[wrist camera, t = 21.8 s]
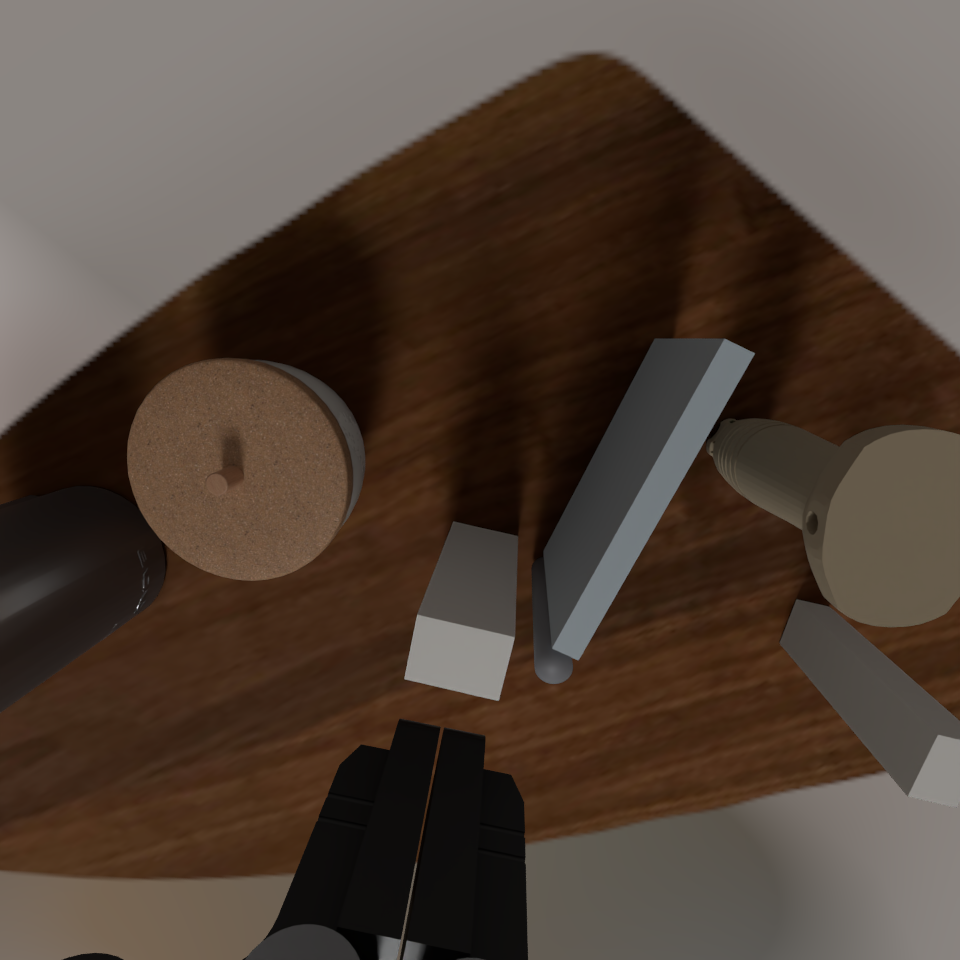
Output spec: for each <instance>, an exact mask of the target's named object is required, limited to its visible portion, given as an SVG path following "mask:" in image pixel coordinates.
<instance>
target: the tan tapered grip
mask: <svg viewBox="0 0 960 960" xmlns="http://www.w3.org/2000/svg"><path fill="white" fill-rule="evenodd" d="M706 450H707V452H708V453H709V454H710V455H711V456H712V457H713V458H714V462H715V465H716V468H717V470H718V471H719V472H720V474H721V475H722V476H723V477H724V479H725V480H726V481H727V482H728V483H729V484H730V485H731V486H732V487H733V488H734V489H735V490H736V491H737V492H739V493H740V494H741V495H742V496H744V497H745V498H747V499H748V500H749V501H751V502H752V503H754V504H756V505H757V506H759V507H761V508H763V509H765V510H767V511H769V512H771V513H773V514H774V515H776V516H778V517H780V518H782V519H784V520H786V521H788V522H789V523H791V524H793V525H795V526H796V527H798V528H800V529H802V531H803V538H804V544H805V548H806V552H807V557H808V561H809V563H810V566H811V569H812V572H813V574H814V577H815V579H816V582H817V584H818V586H819V588H820V591H821V593H822V595H823V596H824V598H825V599H826V600H828V601H829V602H830V603H831V604H832V605H833V606H834V607H835V608H837V609H838V610H839V611H840V612H842V613H843V614H845V615H846V616H848V617H850V618H852V619H854V620H856V621H858V622H861V623H865V624H869V625H873V626H882V627H906V626H912V625H918V624H922V623H925V622H928V621H931V620H933V619H936V618H938V617H940V616H942V615H944V614H946V613H947V612H948V610H949V609H950V608H951V607H952V605H953V604H954V603H955V602H956V600H957V599H958V598H959V597H960V435H959V434H955V433H951V432H947V431H943V430H938V429H934V428H929V427H924V426H912V425H891V426H882V427H877V428H873V429H868V430H866V431H863V432H861V433H859V434H856V435H854V436H853V437H851V438H849V439H847V440H846V441H844V442H843V444H842V445H841V446H840V447H838V446H836V445H834V444H832V443H830V442H828V441H826V440H824V439H822V438H820V437H818V436H816V435H814V434H812V433H810V432H808V431H805V430H803V429H801V428H799V427H796V426H793V425H790V424H787V423H783V422H779V421H775V420H769V419H757V418H753V419H752V418H751V419H743V420H735V419H731V418H729V419H726V420H723V421H722V422H721V423H720V427H719V429H718V431H717V432H716V434H715V435H714V436H713V437H712V438H710V439H708V440H707V443H706Z"/></svg>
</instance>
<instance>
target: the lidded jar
mask: <svg viewBox="0 0 960 960" xmlns="http://www.w3.org/2000/svg"><path fill="white" fill-rule="evenodd" d="M127 465H128V476H129V480H130V484H131V487H132V491H133V494H134V497H135V499H136V502H137V504H138V507H139V509H140V511H141V513H142V514H143V516H144V517H145V519H146V521H147V522H148V524H149V525H150V527H151V528H152V529H153V531H154V532H155V533H156V535H157V536H158V537H159V538H160V539H161V540H162V541H163V542H164V543H165V544H166V545H167V546H168V547H169V548H170V549H171V550H172V551H174V552H175V553H176V554H178V555H179V556H180V557H182V558H183V559H184V560H186V561H187V562H189V563H191V564H193V565H195V566H197V567H198V568H200V569H202V570H205V571H207V572H210V573H213V574H215V575H218V576H222V577H226V578H231V579H236V580H249V581H254V580H267V579H272V578H276V577H280V576H284V575H286V574H289V573H291V572H294V571H296V570H298V569H300V568H301V567H303V566H305V565H306V564H308V563H309V562H311V561H312V560H313V559H314V558H316V557H317V556H318V555H319V554H320V553H321V552H322V551H323V550H324V549H325V548H326V547H327V546H328V545H329V544H330V542H331V541H332V540H333V538H334V537H335V536H336V535H337V533H338V531H339V530H340V528H341V526H342V525H343V524H344V523H345V521H346V520H347V519H348V517H349V515H350V513H351V511H352V510H353V508H354V506H355V504H356V502H357V500H358V497H359V494H360V491H361V488H362V484H363V478H364V472H365V450H364V443H363V439H362V436H361V432H360V429H359V426H358V424H357V422H356V420H355V418H354V416H353V414H352V412H351V411H350V410H349V408H348V407H347V405H346V404H345V402H344V401H343V400H342V399H341V398H340V397H339V396H338V395H337V394H336V392H335V391H334V390H332V389H331V388H330V387H329V386H327V385H326V384H325V383H324V382H322V381H321V380H319V379H317V378H316V377H314V376H312V375H310V374H309V373H307V372H305V371H302V370H300V369H297V368H295V367H292V366H290V365H285V364H281V363H276V362H271V361H267V360H250V359H241V358H219V359H210V360H203V361H199V362H196V363H192V364H189V365H186V366H184V367H182V368H180V369H178V370H176V371H174V372H172V373H171V374H169V375H168V376H167V377H165V378H164V379H163V380H161V381H160V382H159V383H157V385H156V386H155V387H154V388H153V389H152V390H151V391H150V392H149V393H148V394H147V396H146V397H145V399H144V400H143V402H142V404H141V405H140V407H139V408H138V410H137V413H136V415H135V418H134V420H133V423H132V425H131V430H130V434H129V439H128V447H127Z"/></svg>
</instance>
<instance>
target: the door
mask: <svg viewBox="0 0 960 960" xmlns="http://www.w3.org/2000/svg"><path fill="white" fill-rule="evenodd" d="M754 355H755V353H753V352H751V351H749V350H747V349H745V348H743V347H741V346H739V345H737V344H734V343H732V342H730V341H728V340H726V339H654V341H653V343H652V345H651V347H650V349H649V350H648V352H647V354H646V356H645V358H644V360H643V362H642V364H641V366H640V368H639V369H638V371H637V373H636V375H635V377H634V379H633V381H632V383H631V385H630V387H629V389H628V390H627V392H626V394H625V396H624V398H623V400H622V402H621V404H620V406H619V408H618V410H617V411H616V413H615V415H614V417H613V419H612V421H611V423H610V425H609V427H608V429H607V430H606V432H605V434H604V436H603V438H602V440H601V442H600V444H599V446H598V448H597V450H596V451H595V453H594V455H593V457H592V459H591V461H590V463H589V465H588V467H587V469H586V471H585V472H584V474H583V476H582V478H581V480H580V482H579V484H578V486H577V488H576V490H575V492H574V493H573V495H572V497H571V499H570V501H569V503H568V505H567V507H566V509H565V511H564V512H563V514H562V516H561V518H560V520H559V522H558V524H557V526H556V528H555V530H554V532H553V533H552V535H551V537H550V539H549V541H548V543H547V545H546V547H545V549H544V551H543V554H544V557H540V558H538V559H537V560H535V561H534V563H533V565H532V600H533V631H534V663H535V672H536V674H537V676H538V677H539V678H540V679H541V680H543V681H544V682H547V683H551V684H558V683H561V682H564V681H565V680H567V679H568V678H569V677H570V675H571V673H572V670H573V664H572V658H574V659H576V660H579V659H580V657H581V655H582V653H583V652H584V650H585V648H586V646H587V645H588V643H589V641H590V639H591V638H592V636H593V634H594V633H595V631H596V629H597V627H598V626H599V624H600V622H601V620H602V619H603V617H604V615H605V613H606V612H607V610H608V608H609V606H610V605H611V603H612V601H613V600H614V598H615V596H616V594H617V593H618V591H619V589H620V587H621V586H622V584H623V582H624V580H625V579H626V577H627V575H628V573H629V572H630V570H631V568H632V567H633V565H634V563H635V561H636V560H637V558H638V556H639V554H640V553H641V551H642V549H643V547H644V546H645V544H646V542H647V540H648V539H649V537H650V535H651V534H652V532H653V530H654V528H655V527H656V525H657V523H658V521H659V520H660V518H661V516H662V514H663V513H664V511H665V509H666V507H667V506H668V504H669V502H670V500H671V499H672V497H673V495H674V494H675V492H676V490H677V488H678V487H679V485H680V483H681V481H682V480H683V478H684V476H685V474H686V473H687V471H688V469H689V467H690V466H691V464H692V462H693V461H694V459H695V457H696V455H697V454H698V452H699V450H700V448H701V447H702V445H703V443H704V441H705V440H706V438H707V436H708V434H709V433H710V431H711V429H712V428H713V426H714V424H715V422H716V421H717V419H718V417H719V415H720V414H721V412H722V410H723V408H724V407H725V405H726V403H727V401H728V400H729V398H730V396H731V395H732V393H733V391H734V389H735V388H736V386H737V384H738V382H739V381H740V379H741V377H742V375H743V374H744V372H745V370H746V368H747V367H748V365H749V363H750V361H751V360H752V358H753V356H754Z"/></svg>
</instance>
